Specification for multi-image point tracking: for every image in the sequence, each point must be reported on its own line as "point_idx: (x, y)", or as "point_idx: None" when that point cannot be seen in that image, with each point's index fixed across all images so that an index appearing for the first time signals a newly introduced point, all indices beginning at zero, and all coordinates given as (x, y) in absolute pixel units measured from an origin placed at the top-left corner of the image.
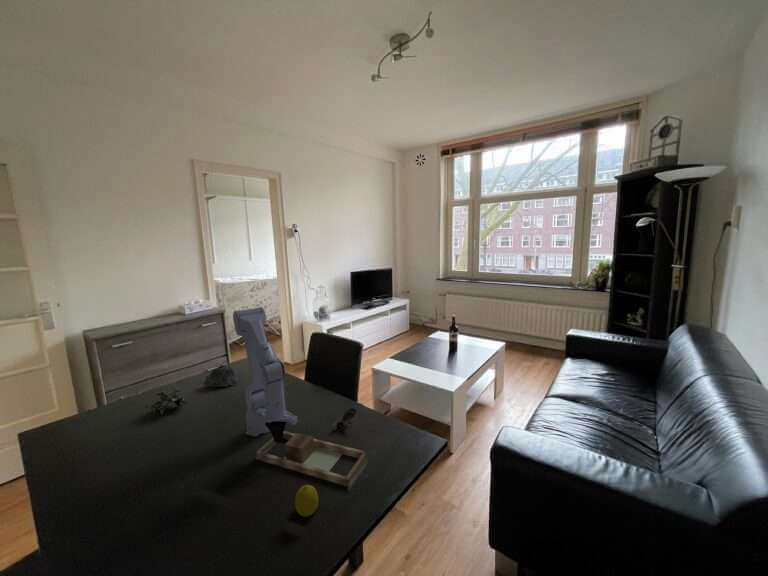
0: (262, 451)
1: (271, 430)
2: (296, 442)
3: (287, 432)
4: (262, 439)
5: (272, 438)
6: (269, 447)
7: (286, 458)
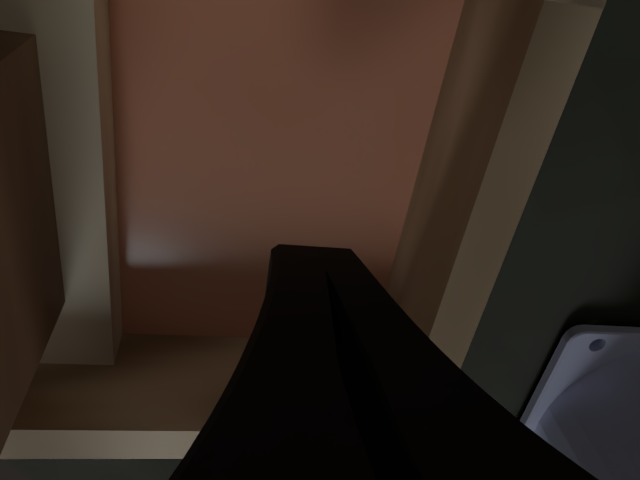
0: (505, 50)
1: (463, 443)
2: None
3: None
4: (612, 316)
5: (469, 323)
6: (447, 189)
7: (19, 38)
